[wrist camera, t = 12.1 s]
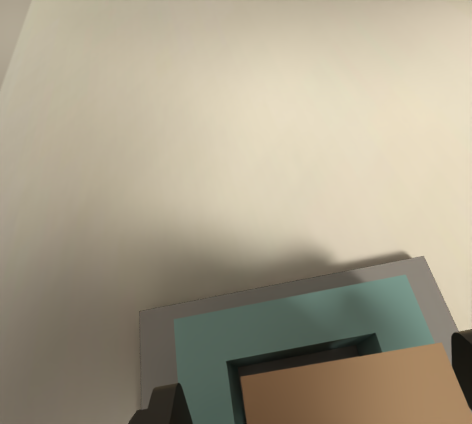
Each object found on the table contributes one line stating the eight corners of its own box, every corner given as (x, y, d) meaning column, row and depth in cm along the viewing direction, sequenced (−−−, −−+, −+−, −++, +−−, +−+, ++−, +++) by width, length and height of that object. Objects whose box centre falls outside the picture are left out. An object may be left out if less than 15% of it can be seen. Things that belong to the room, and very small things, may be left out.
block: (346, 371, 16) (441, 342, 7) (363, 432, 15) (511, 507, 5) (264, 385, 16) (240, 376, 7) (275, 447, 15) (263, 545, 5)
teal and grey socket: (417, 262, 19) (457, 223, 15) (543, 541, 13) (669, 614, 9) (145, 314, 20) (106, 292, 15) (154, 607, 14) (95, 706, 10)
